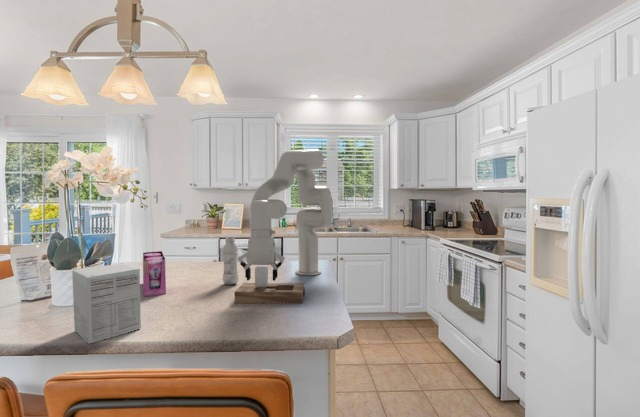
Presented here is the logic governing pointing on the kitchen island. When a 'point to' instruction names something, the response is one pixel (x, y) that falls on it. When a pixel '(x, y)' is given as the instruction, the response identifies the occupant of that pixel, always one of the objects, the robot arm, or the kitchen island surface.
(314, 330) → the kitchen island surface
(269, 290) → the keyhole plate
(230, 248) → the plastic bottle
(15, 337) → the kitchen island surface
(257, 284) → the steel peg
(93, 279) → the supplement box
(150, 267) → the gum box
